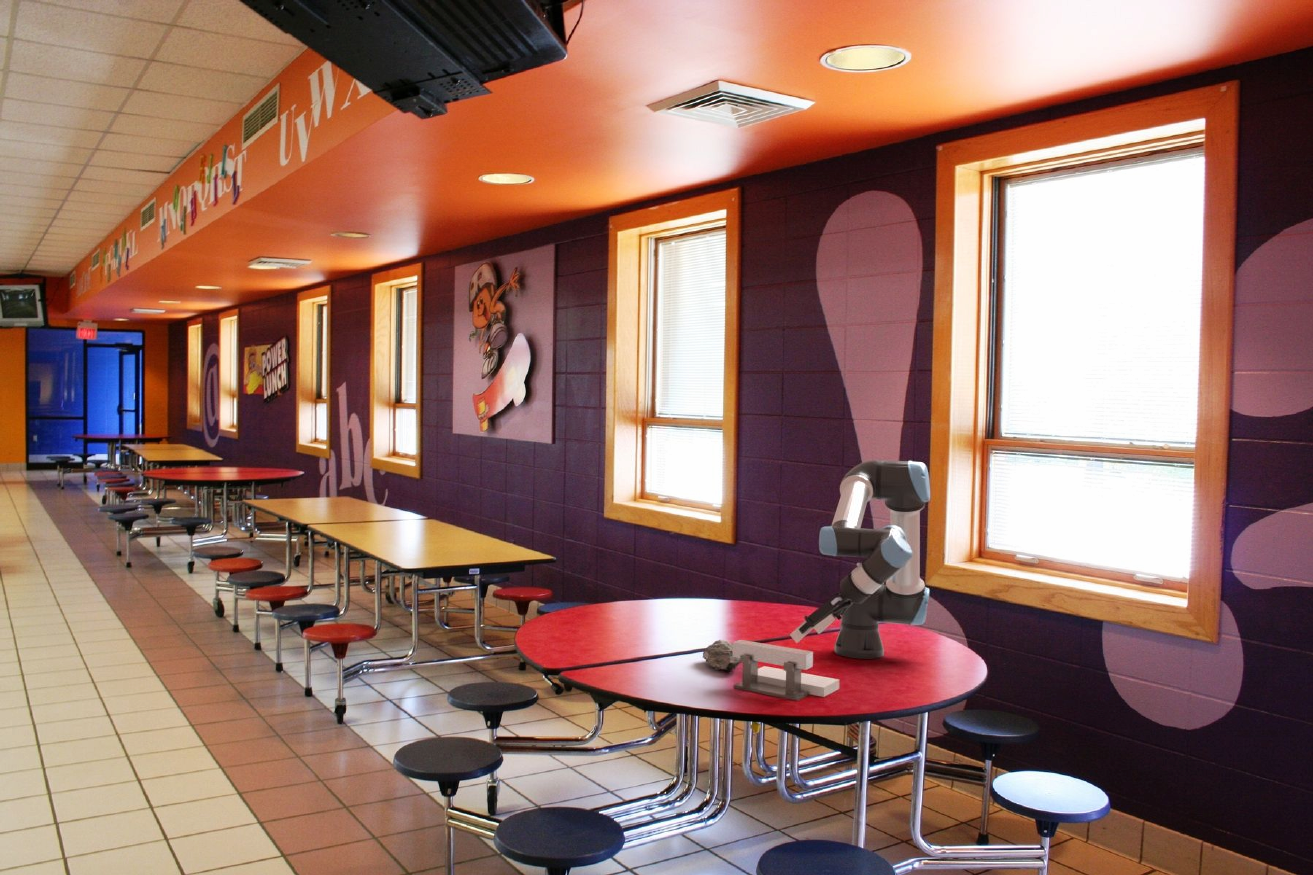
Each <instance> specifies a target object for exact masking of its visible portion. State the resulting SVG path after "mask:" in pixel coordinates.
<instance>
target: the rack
mask: <svg viewBox="0 0 1313 875" xmlns="http://www.w3.org/2000/svg"><path fill="white" fill-rule="evenodd" d="M740 664H742V676H741V677H742V681H740V682H738V683H735V684H734V685H733V689H738V690H742V691H745V692H746V691H747V692H753V693H757V694H761V695H762V694H763V695H767V696H771V697H776V698H781V699H786V700H792V701H796V702H797V701H800V700H802V699H804V698H805V697H808V696H809V695H810V694H809V692H808V691H803V690H801V673H802V669H798V668H794V664H793V663H787V662H785V663H784V666H783V670H784V671H786V687H782V686H776V685H771V684H766V683H761V682H757V681H758V669H759V661H753V660H750V656H747V655H740Z"/></svg>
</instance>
